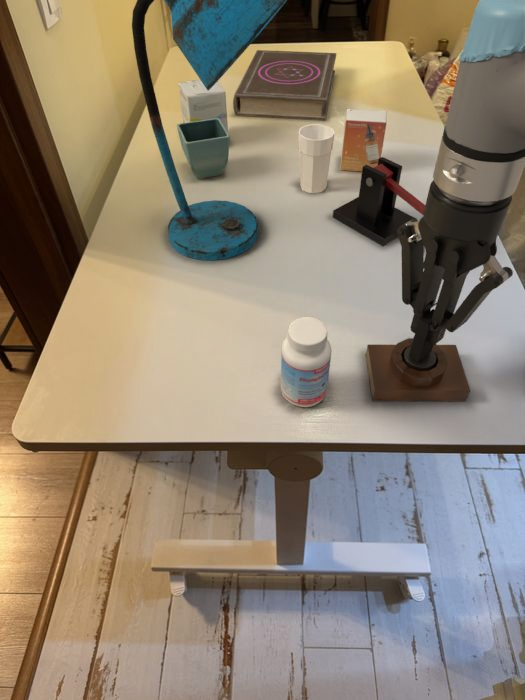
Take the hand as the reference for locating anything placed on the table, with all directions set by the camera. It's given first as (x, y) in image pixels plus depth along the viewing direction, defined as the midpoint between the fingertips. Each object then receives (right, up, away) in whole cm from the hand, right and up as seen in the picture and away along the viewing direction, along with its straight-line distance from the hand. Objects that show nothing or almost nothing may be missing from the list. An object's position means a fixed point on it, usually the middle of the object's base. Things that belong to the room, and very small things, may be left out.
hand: (420, 353), depth 66 cm
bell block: (0, -3, +3) cm, 5 cm away
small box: (0, +39, +42) cm, 57 cm away
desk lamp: (-27, +21, +27) cm, 43 cm away
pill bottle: (-15, -5, +2) cm, 16 cm away
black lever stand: (0, +24, +28) cm, 37 cm away
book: (-14, +67, +69) cm, 97 cm away
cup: (-10, +33, +37) cm, 50 cm away
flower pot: (-32, +37, +42) cm, 64 cm away
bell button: (0, -1, +1) cm, 2 cm away
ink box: (-33, +48, +51) cm, 77 cm away
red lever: (+3, +25, +21) cm, 33 cm away
